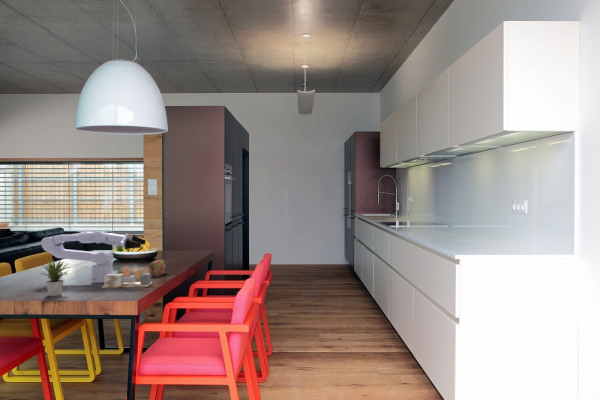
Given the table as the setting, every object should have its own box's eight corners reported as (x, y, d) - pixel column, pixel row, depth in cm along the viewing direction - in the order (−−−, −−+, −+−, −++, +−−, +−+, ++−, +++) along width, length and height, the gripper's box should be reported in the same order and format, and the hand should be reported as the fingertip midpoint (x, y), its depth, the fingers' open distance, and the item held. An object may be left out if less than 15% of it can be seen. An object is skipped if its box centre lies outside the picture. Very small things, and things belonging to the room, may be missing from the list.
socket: (140, 284, 235) (140, 275, 235) (143, 282, 241) (143, 273, 241) (148, 284, 235) (148, 274, 235) (150, 282, 241) (150, 273, 241)
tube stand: (101, 287, 230) (101, 276, 230) (107, 283, 240) (107, 273, 240) (148, 286, 233) (148, 275, 233) (152, 282, 243) (152, 272, 243)
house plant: (67, 297, 207) (67, 260, 207) (33, 299, 204) (32, 261, 204) (76, 291, 221) (75, 256, 221) (43, 292, 218) (43, 257, 218)
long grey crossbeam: (104, 283, 234) (104, 268, 234) (106, 282, 237) (106, 267, 237) (134, 282, 236) (134, 267, 236) (135, 281, 239) (135, 266, 239)
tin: (153, 277, 260) (153, 262, 260) (148, 277, 261) (148, 262, 261) (166, 273, 275) (166, 258, 275) (161, 272, 275) (161, 258, 275)
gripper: (112, 235, 239) (139, 239, 239) (123, 229, 254) (148, 233, 254) (110, 248, 240) (137, 252, 240) (121, 242, 254) (146, 246, 255)
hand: (143, 243), depth 247 cm, fingers open, 7 cm apart
